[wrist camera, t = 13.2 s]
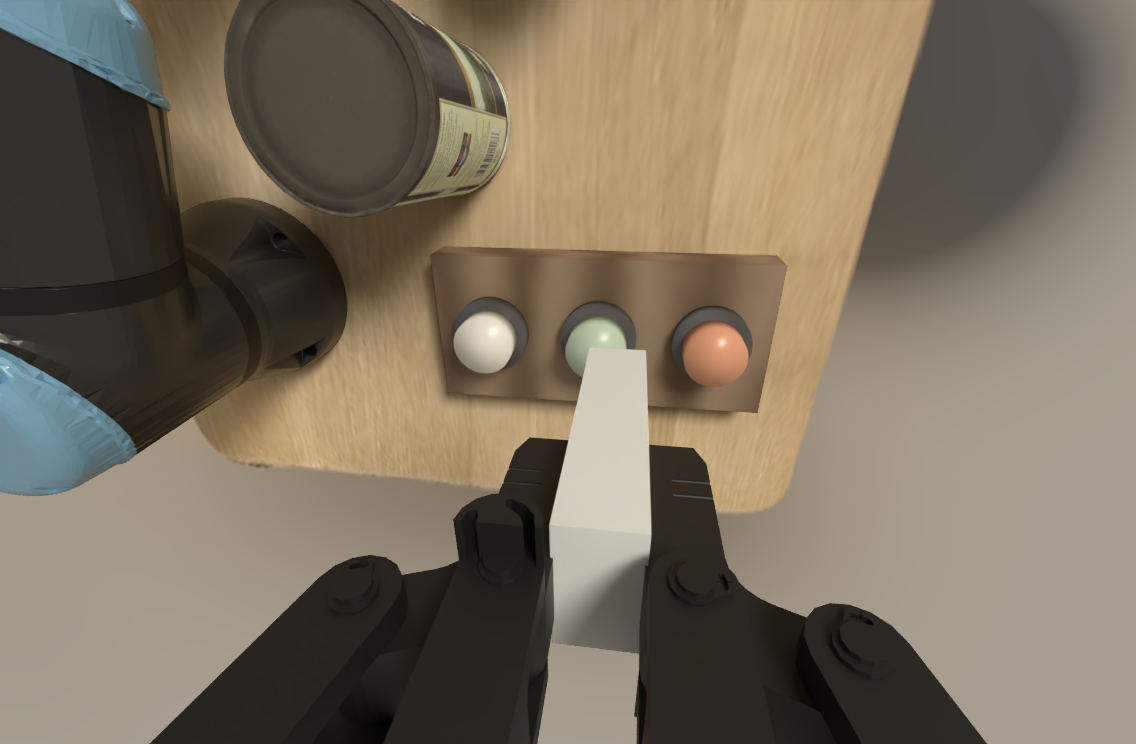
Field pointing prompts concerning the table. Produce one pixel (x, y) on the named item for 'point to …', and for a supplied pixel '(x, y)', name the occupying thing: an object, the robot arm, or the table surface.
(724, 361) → the button terracotta
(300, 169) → the coffee can
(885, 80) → the table surface
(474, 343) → the button cream
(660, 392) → the button panel
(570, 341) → the button green
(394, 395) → the table surface
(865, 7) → the table surface
